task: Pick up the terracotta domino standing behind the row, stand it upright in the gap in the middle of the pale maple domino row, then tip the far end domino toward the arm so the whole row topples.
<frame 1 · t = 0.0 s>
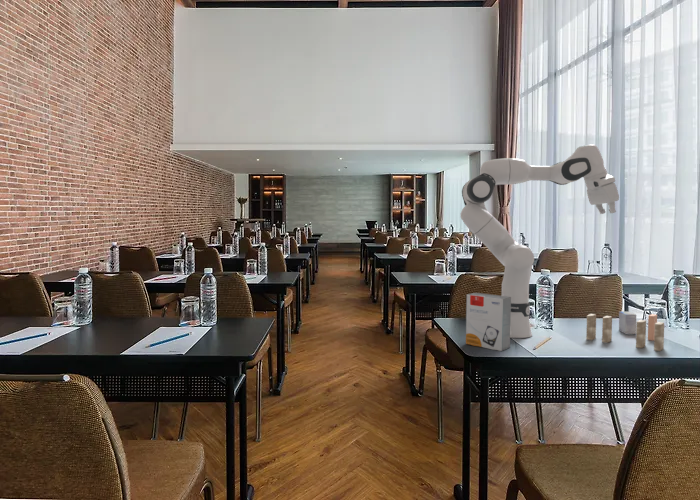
hand: (607, 213, 197), 52 cm above the table, tool tilted 20°, fingers open, 8 cm apart
end domino: (658, 349, 177), on the table
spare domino: (652, 339, 194), on the table
medicine box: (627, 332, 206), on the table
domino 4: (606, 341, 190), on the table
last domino: (591, 338, 195), on the table
hard drive box: (487, 346, 183), on the table
domino 2: (640, 346, 182), on the table
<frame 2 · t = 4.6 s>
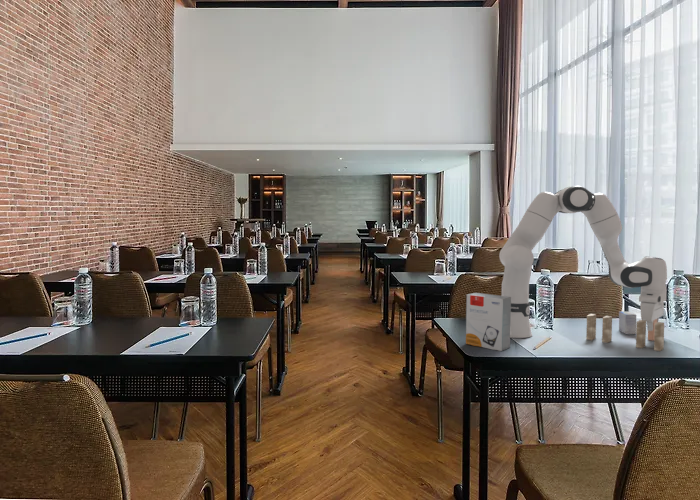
hand: (652, 329, 193), 4 cm above the table, tool pointing down, fingers closed on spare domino, 5 cm apart
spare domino: (652, 339, 194), on the table, touching gripper
everything else where it was.
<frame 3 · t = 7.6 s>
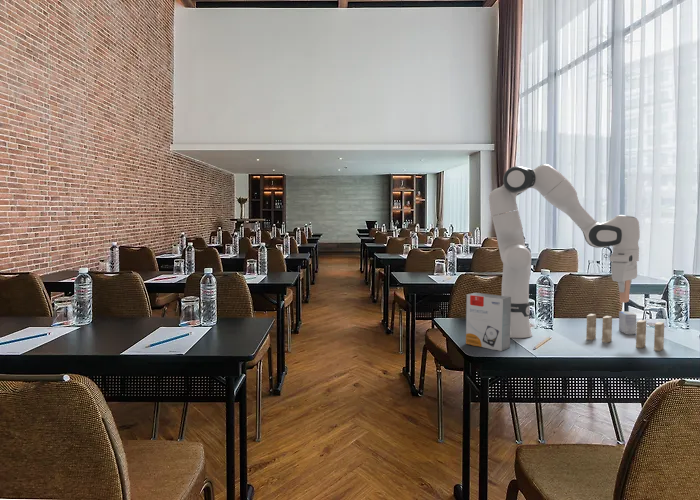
hand: (624, 291, 185), 21 cm above the table, tool pointing down, fingers closed on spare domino, 5 cm apart
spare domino: (624, 301, 185), point 17 cm above the table, touching gripper
everything else where it was.
when the fingers open (5 cm above the table, at t = 10.9 s): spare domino drops 1 cm, on the table.
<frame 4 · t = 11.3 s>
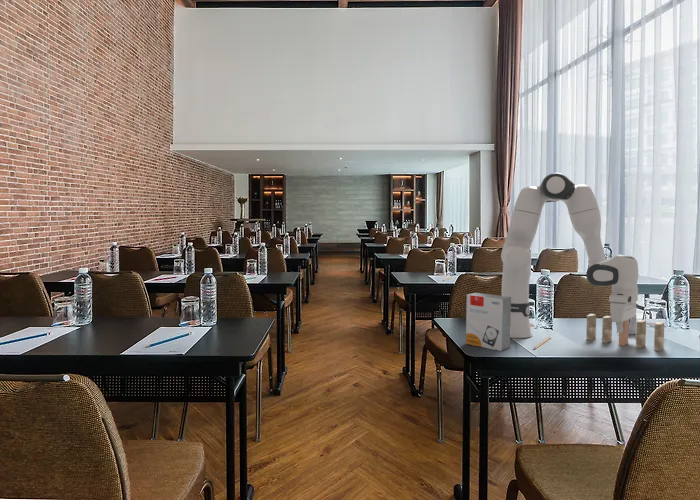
hand: (623, 330, 186), 5 cm above the table, tool pointing down, fingers open, 8 cm apart
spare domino: (623, 343, 186), on the table
everything else where it was.
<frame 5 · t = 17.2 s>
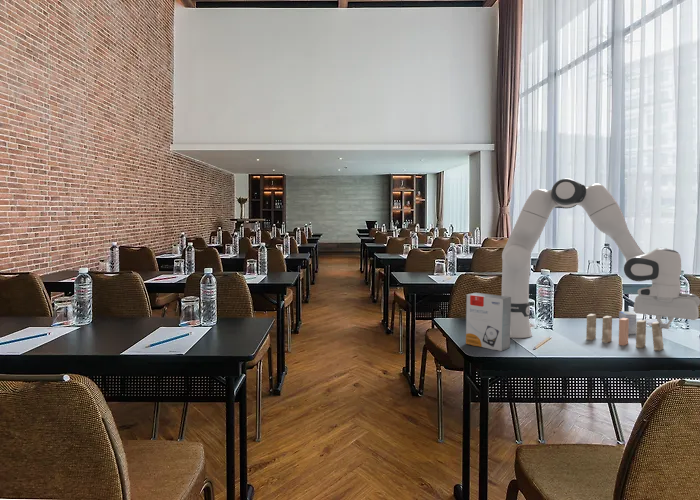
hand: (664, 328, 176), 8 cm above the table, tool pointing down, fingers closed
end domino: (658, 349, 177), on the table, tilted 6°
everything else where it was.
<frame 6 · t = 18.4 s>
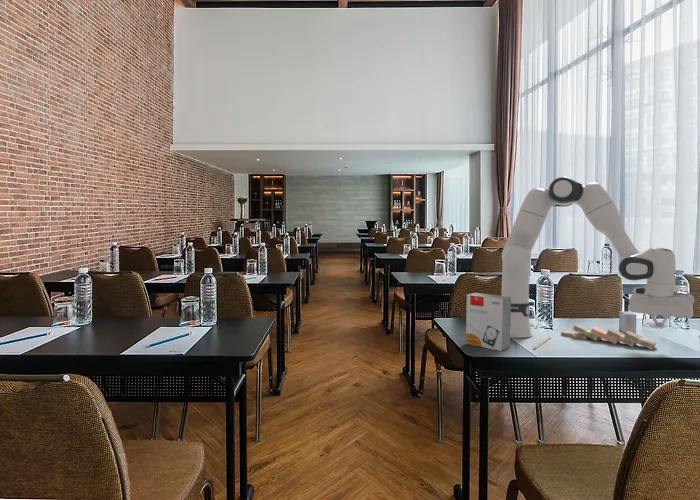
hand: (659, 326, 177), 9 cm above the table, tool pointing down, fingers closed
end domino: (654, 346, 179), point 1 cm above the table, tilted 71°, touching domino 2
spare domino: (618, 340, 187), point 1 cm above the table, tilted 72°, touching domino 2
domino 4: (599, 337, 192), point 1 cm above the table, tilted 73°
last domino: (587, 337, 195), on the table, tilted 90°
domino 2: (635, 343, 183), point 1 cm above the table, tilted 71°, touching end domino, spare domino
everything else where it was.
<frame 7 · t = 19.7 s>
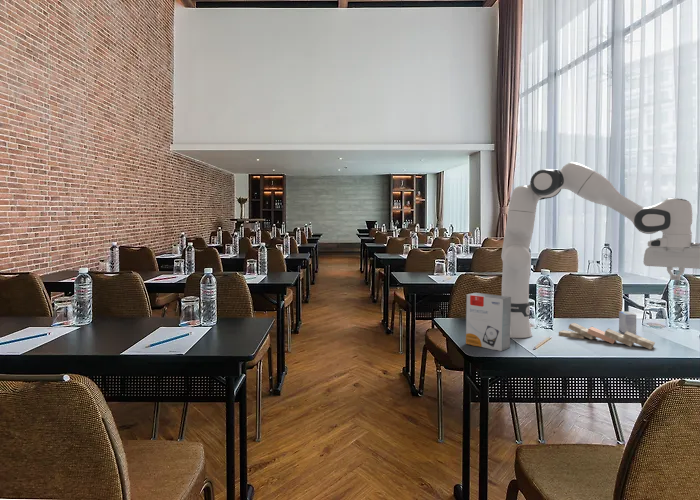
hand: (675, 279, 173), 27 cm above the table, tool pointing down, fingers closed
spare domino: (615, 340, 188), point 1 cm above the table, tilted 72°, touching domino 2, domino 4
domino 4: (594, 336, 193), point 1 cm above the table, tilted 71°, touching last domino, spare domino
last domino: (585, 337, 196), on the table, tilted 90°, touching domino 4
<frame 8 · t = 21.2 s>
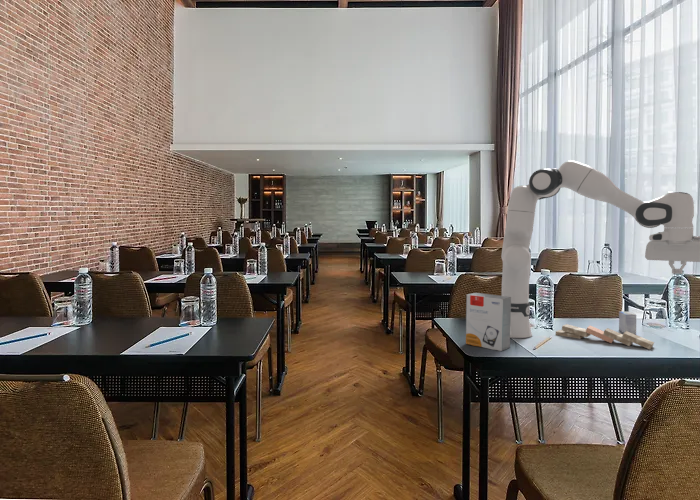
hand: (677, 273, 173), 29 cm above the table, tool pointing down, fingers closed
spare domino: (613, 339, 188), point 1 cm above the table, tilted 70°
domino 4: (588, 333, 194), point 2 cm above the table, tilted 82°
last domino: (582, 336, 197), on the table, tilted 90°
domino 2: (631, 342, 184), point 1 cm above the table, tilted 71°, touching end domino
everything else where it was.
at the end: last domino tilted 90°; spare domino tilted 70° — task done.
